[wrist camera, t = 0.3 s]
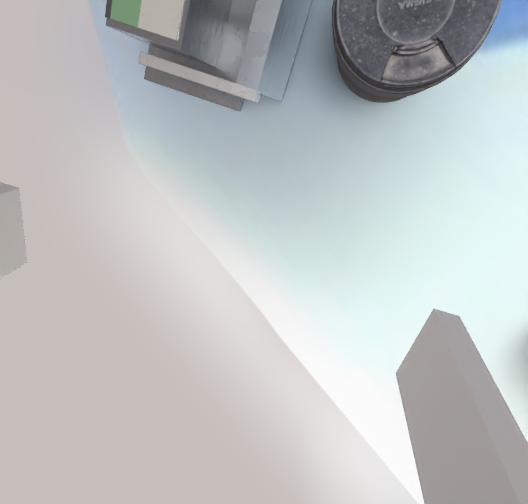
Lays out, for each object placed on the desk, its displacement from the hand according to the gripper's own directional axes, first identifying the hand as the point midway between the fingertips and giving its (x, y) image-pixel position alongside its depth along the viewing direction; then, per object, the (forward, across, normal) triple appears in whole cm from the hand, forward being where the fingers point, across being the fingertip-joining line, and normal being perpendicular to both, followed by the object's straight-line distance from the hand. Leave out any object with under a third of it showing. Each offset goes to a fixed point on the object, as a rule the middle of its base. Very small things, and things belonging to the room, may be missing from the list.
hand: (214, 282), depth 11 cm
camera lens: (+28, +6, +9) cm, 29 cm away
